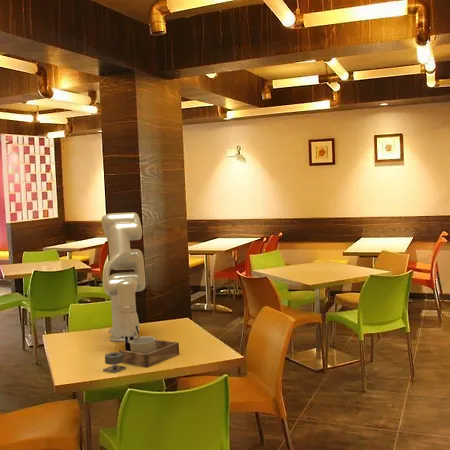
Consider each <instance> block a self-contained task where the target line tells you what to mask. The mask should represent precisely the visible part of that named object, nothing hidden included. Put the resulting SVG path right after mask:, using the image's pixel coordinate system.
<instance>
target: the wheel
mask: <svg viewBox="0 0 450 450" xmlns="http://www.w3.org/2000/svg"><path fill="white" fill-rule="evenodd" d="M122 362H123V353H119V351H117V352H108V353H106V354H104V364H105V365H109V366H112V365H113V364H117V365H119V364H123V363H122Z"/></svg>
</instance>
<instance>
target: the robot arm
mask: <svg viewBox="0 0 450 450" xmlns="http://www.w3.org/2000/svg"><path fill="white" fill-rule="evenodd" d="M101 226H102V231H103V233H104V234H105V237H106V239H107V244H108V255H109V257H108V259H109V260H108V261H107V262H106V264H105V266H104V269H103V275H102V276H103V286H104V287H103V288H104V292H105V294H106V295H107V296H109V297H110V300H111V301H110V304H111V319H112V327H110V328H109V330H108V331H107V332H108V333H109V334H111V335H110V337H109V340H110V341H112V342H119V343H120V342H123V343H124V350H125V351H131V347H130V341H131V340H132V339H138V338H139V337H140V336H139V335H140V321H139V316H138V312H137V304H136V303H137V302H136V292H142V291H144V290H145V289H146V274H145V273H146V272H145V271H146V270H145V259H144V254H143V252H142V251H141V250H140V249H137V248H131V243H130V241H138V240H139V241H140V240H141V239H142V236H143V229H142V228H143V227H142V223H141V221H140V216H139V214H138V213H137V212H132V211H131V212H114V213H113V212H112V213H106V214H105V215H103V216H102V217H101ZM111 270H115V271H124V270H134V271H127V272H117V273H112V274H111ZM110 274H111V275H110Z"/></svg>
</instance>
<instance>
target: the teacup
mask: <svg viewBox="0 0 450 450" xmlns="http://www.w3.org/2000/svg"><path fill="white" fill-rule="evenodd" d="M155 340H156V337H154V336H143V335H142V336H139V338H138V339H132V340H131V341H130V347H131V352H137V353H143V354H148V353H150V352H153V351H155V350H156V342H155Z"/></svg>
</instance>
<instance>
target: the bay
mask: <svg viewBox="0 0 450 450" xmlns="http://www.w3.org/2000/svg"><path fill="white" fill-rule="evenodd" d="M155 339H156V338H155ZM155 342H156V350H155V351H153V352H150V353H148V354H143V353H137V352H131V351H125V349H124V350H123V349H120V350H118V352H119V353H123V362H122V363H121V364H126V365H130V366H131V365H132V366H138V367H142V368H150V367H152V366H154V365H157V364H159V363H162V362H164V361H166V360H168V359H171V358H174V357H176V356H179V355H180V344H179V342H177V341H169V340H162V339H156V340H155Z"/></svg>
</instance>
